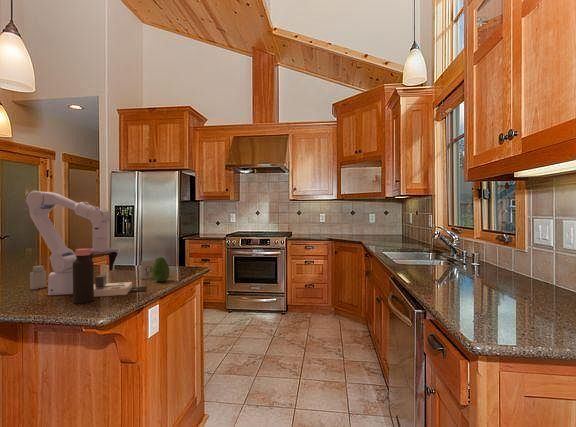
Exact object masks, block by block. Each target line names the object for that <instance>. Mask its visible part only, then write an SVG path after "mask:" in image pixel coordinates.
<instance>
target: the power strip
mask: <svg viewBox="0 0 576 427" xmlns="http://www.w3.org/2000/svg"><path fill="white" fill-rule="evenodd" d="M147 289H148V285H144V286H133V282H132V281H125V282H112V283H111V282H109V283H107V282H106V285H105V286H104V287H95V283H94V298H95V297H109V296H111V297H112V296H124V295H128V294H129V292H130V293H137V292H139V291H141V292H146V291H147Z"/></svg>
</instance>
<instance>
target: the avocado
mask: <svg viewBox="0 0 576 427" xmlns="http://www.w3.org/2000/svg"><path fill="white" fill-rule="evenodd" d="M154 260H155V262H154V265H153V268H152V276H153V278H152V279H154V280H155V281H156V282H158V283H159V282H160V283H163V282H166V281H167V280H168V279H169V277H170V274H171V273H170V267H169V265H168V264H169V263H168V262H167V260H166V259H165V258H164V256H163V257H162V256H159V257H157V258H155V259H154Z"/></svg>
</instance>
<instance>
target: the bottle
mask: <svg viewBox="0 0 576 427" xmlns="http://www.w3.org/2000/svg"><path fill="white" fill-rule="evenodd" d="M91 249H92V248H87V247H86V248H76V249H75V250H74V253H75V255H76V257H77V259H76V260H75V261H74V262H73V294H72V303H73V304H74V305H75V304H76V305H82V304H88V303H91V302H94V300H95V297H94V284H95V283H94V282H95V277H94V272H95V271H94V261H93V259H92V260H91V259H90V254H91Z"/></svg>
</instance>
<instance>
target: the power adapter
mask: <svg viewBox="0 0 576 427" xmlns="http://www.w3.org/2000/svg"><path fill="white" fill-rule="evenodd" d="M34 263H35V265H34V266H32V272H29V287H30V290H33V289H35V290H40V289H43V288H47V271H46V270H44V265H41V264H42V263H41V260H39V265H37V261H35V262H34ZM39 288H40V289H39Z"/></svg>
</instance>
